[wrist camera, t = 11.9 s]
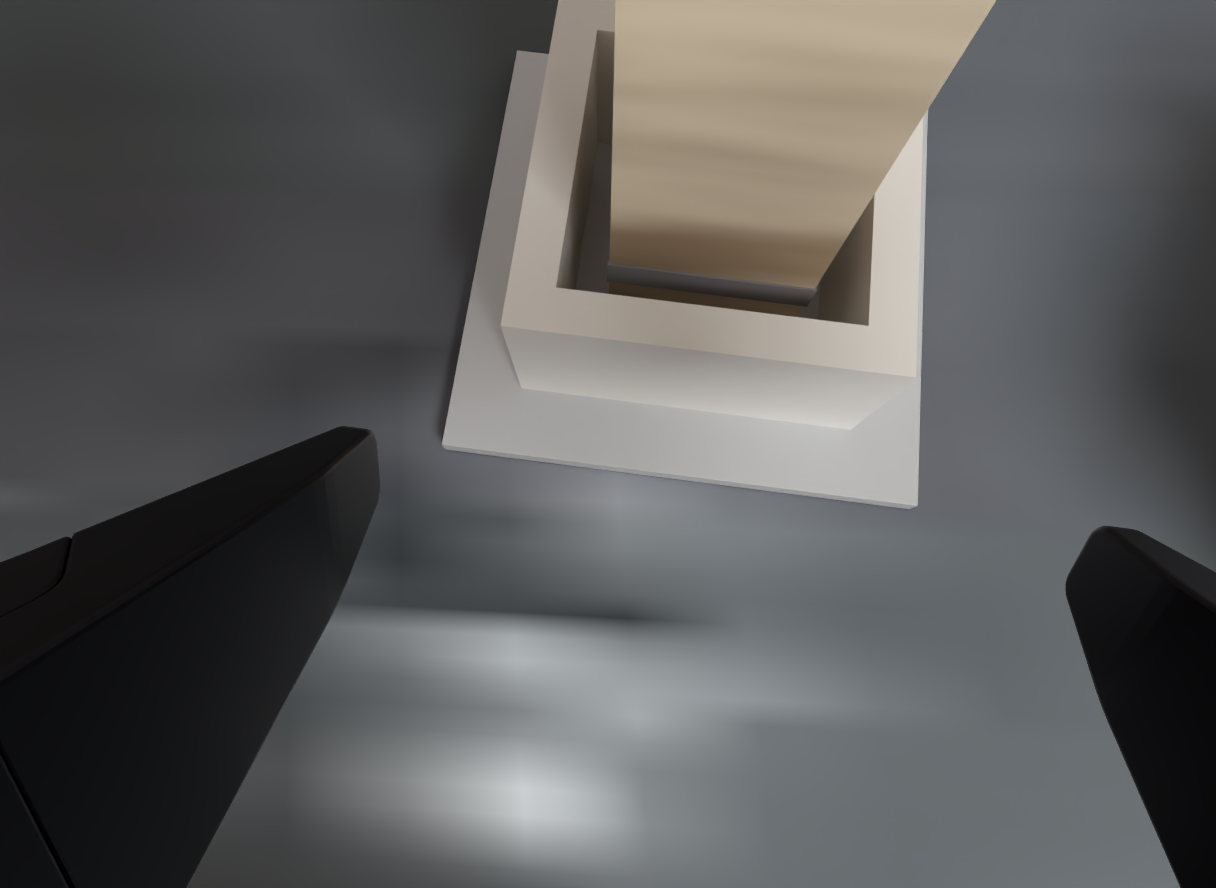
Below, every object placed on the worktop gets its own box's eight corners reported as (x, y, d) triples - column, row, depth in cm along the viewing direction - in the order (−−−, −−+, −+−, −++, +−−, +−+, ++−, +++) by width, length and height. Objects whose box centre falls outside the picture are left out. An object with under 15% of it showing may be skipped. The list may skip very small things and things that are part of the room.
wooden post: (779, 349, 19) (1004, -2, 8) (606, 326, 19) (612, -47, 9) (792, 195, 20) (1004, -286, 10) (628, 175, 20) (657, -323, 10)
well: (909, 508, 19) (1002, 472, 14) (446, 449, 19) (398, 395, 15) (920, 109, 22) (1001, -22, 17) (519, 63, 22) (498, -78, 17)
